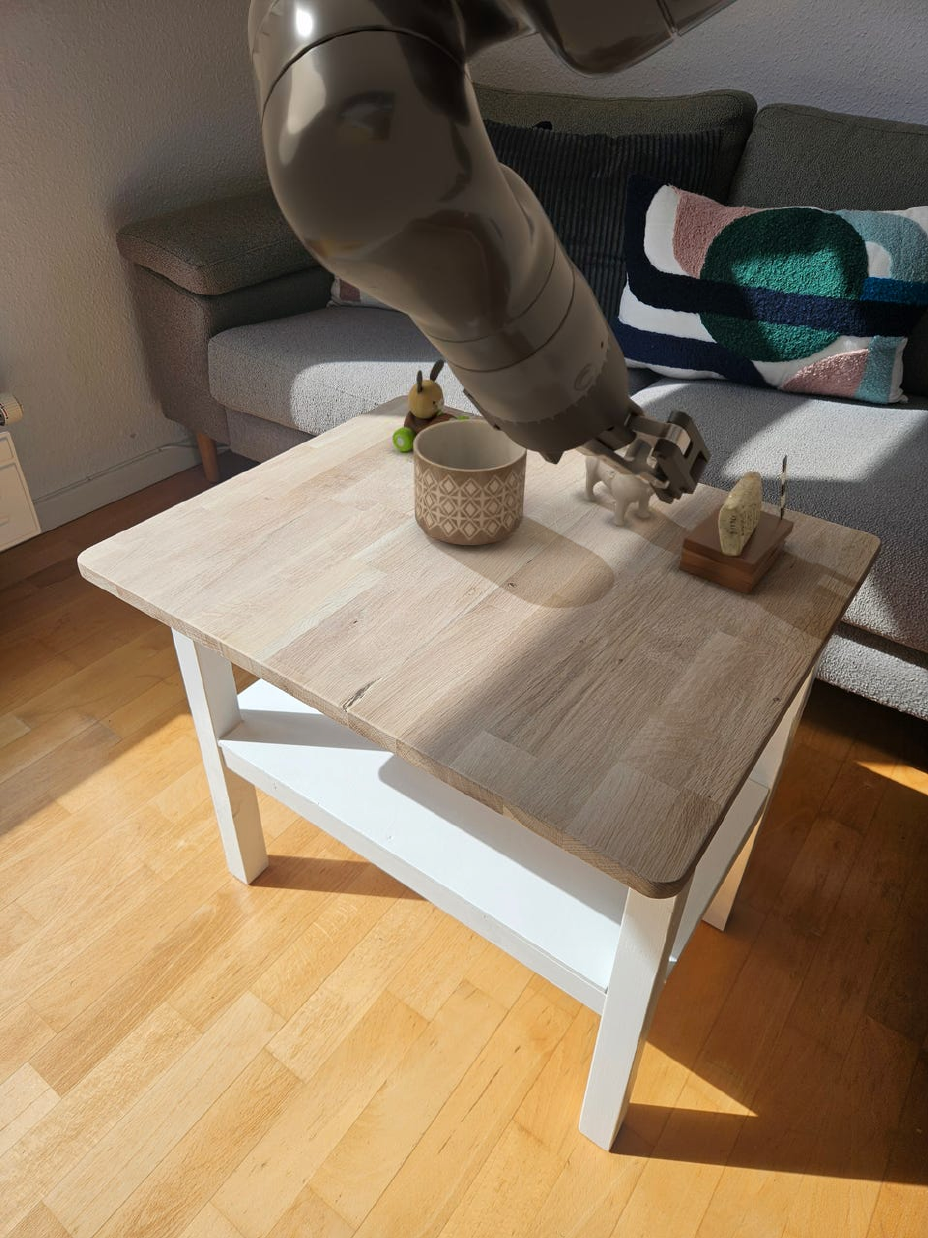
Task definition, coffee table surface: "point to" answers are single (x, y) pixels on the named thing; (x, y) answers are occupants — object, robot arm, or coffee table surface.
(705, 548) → the slab pile
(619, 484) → the dog figurine
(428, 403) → the bunny pull toy
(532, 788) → the coffee table surface
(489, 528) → the planter
